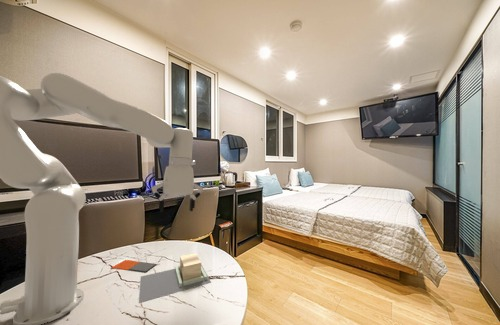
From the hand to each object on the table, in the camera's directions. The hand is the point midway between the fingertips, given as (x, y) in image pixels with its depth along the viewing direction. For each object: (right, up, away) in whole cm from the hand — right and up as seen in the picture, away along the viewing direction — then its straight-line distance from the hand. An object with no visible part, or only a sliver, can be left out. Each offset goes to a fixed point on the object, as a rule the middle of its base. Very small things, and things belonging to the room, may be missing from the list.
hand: (176, 211), depth 66 cm
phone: (-17, -23, +3) cm, 28 cm away
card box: (+5, -21, -2) cm, 22 cm away
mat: (+1, -22, -5) cm, 22 cm away
